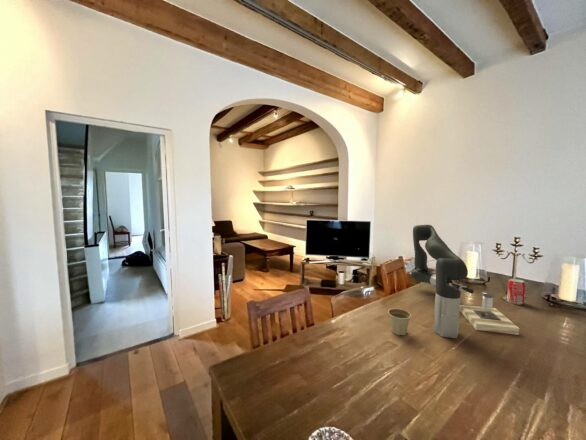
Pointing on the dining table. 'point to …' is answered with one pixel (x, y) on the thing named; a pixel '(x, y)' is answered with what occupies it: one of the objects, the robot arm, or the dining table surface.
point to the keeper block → (488, 320)
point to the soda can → (516, 291)
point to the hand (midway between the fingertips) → (466, 292)
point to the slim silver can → (487, 304)
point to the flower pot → (399, 321)
